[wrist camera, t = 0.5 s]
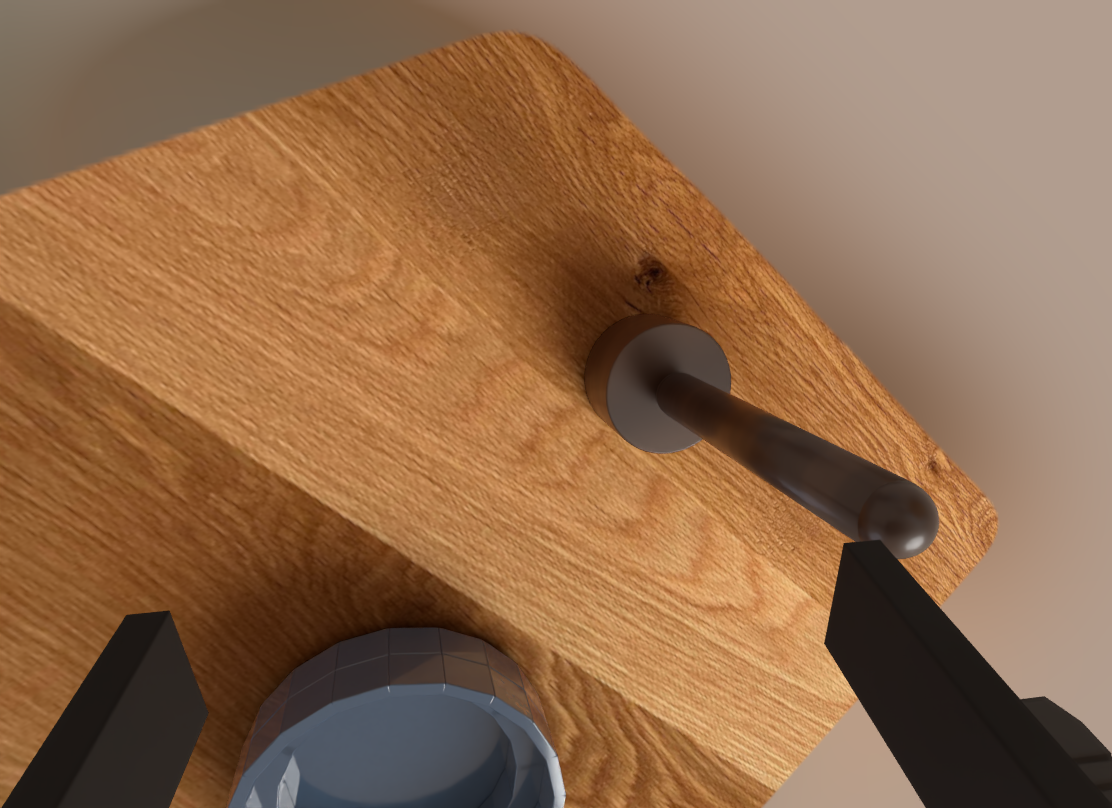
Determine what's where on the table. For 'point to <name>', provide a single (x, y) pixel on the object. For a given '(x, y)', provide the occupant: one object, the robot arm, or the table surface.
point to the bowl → (401, 730)
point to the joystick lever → (744, 431)
